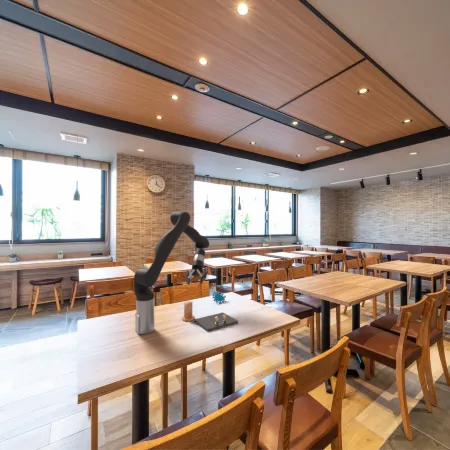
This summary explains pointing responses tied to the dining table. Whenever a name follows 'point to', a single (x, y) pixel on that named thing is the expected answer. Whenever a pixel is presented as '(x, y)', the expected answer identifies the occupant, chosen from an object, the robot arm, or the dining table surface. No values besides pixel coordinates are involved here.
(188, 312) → the orange flanged cylinder
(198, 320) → the base plate
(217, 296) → the teal spiky virus model
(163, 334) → the dining table surface
